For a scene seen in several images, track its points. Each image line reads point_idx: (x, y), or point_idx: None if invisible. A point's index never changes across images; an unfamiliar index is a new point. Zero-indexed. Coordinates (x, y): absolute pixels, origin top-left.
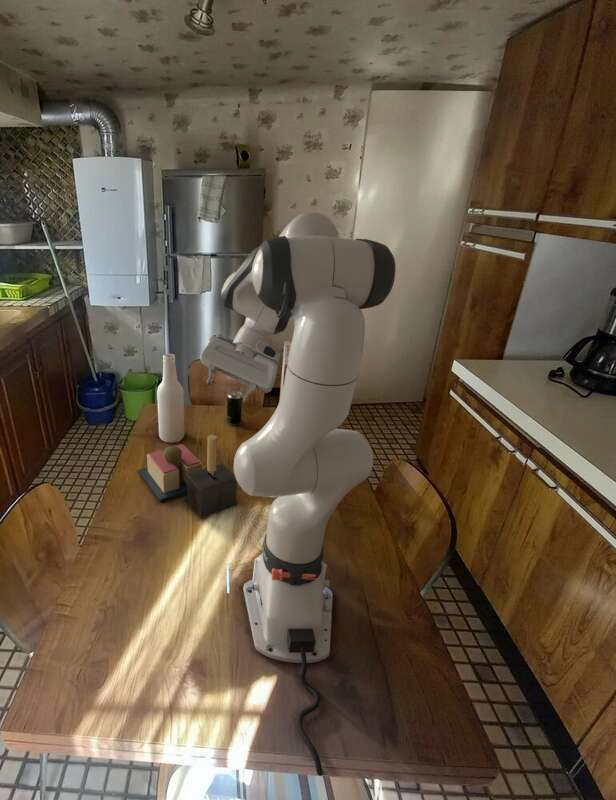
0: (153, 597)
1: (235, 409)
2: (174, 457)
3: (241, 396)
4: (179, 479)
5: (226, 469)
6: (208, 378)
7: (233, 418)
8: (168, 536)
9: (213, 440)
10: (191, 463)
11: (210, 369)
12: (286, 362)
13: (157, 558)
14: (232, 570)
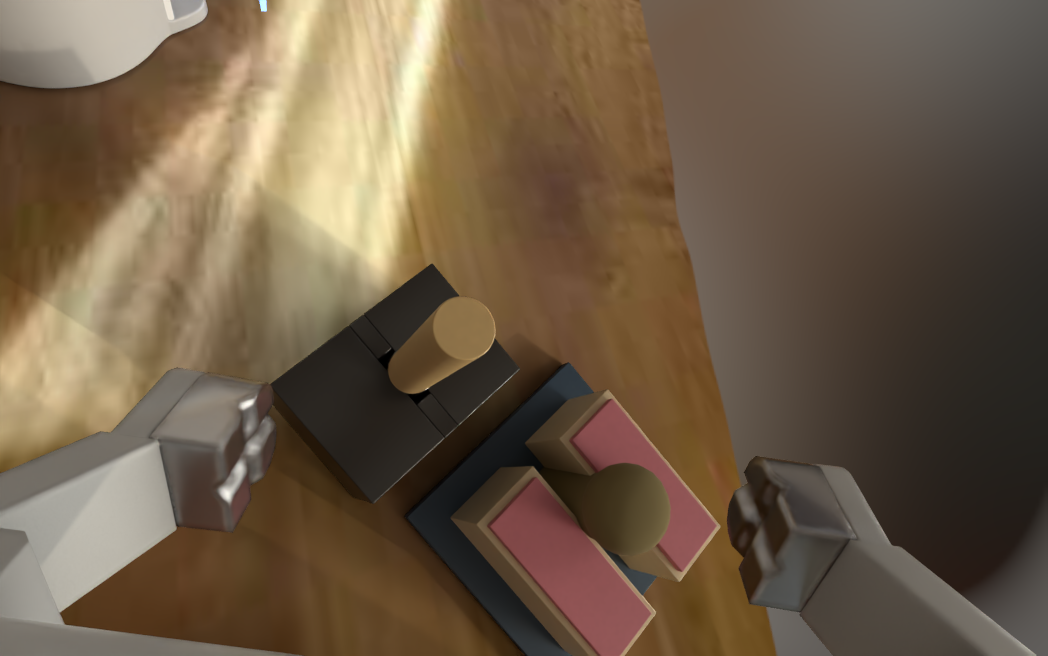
0: (460, 4)
1: None
2: (609, 469)
3: (243, 382)
4: None
5: (337, 449)
6: (855, 496)
7: None
8: (487, 207)
9: (448, 301)
10: (522, 498)
11: (996, 649)
12: None
13: (491, 122)
14: (251, 80)
